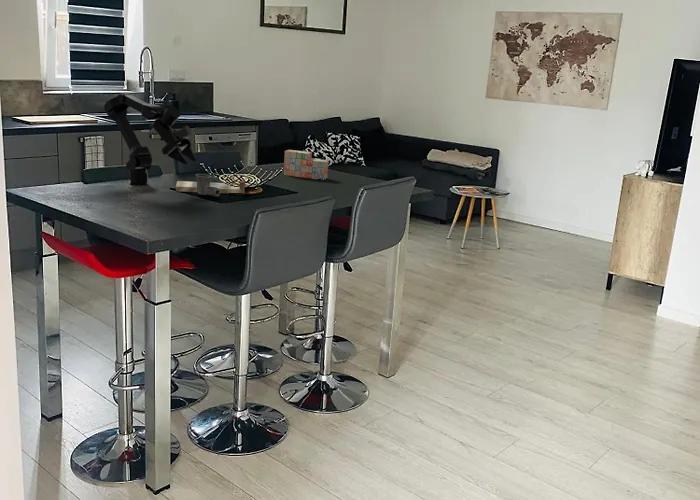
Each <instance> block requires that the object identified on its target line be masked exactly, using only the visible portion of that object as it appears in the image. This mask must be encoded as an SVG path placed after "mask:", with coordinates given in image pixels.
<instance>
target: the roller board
mask: <svg viewBox="0 0 700 500" xmlns="http://www.w3.org/2000/svg"><path fill="white" fill-rule="evenodd" d="M245 183H246V181H245V180H244V181H240V187H234V186H230V185H227V184H225V182H210V187H216V188H218V189H219V190H220V194H229V193H244V194H245V189H246V188H245V185H246V184H245ZM175 192H187V193H188V192H189V193H197V181H186V180H185V181H184V180H183V181H182V180H177V181H176V185H175Z"/></svg>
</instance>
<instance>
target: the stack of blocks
mask: <svg viewBox="0 0 700 500" xmlns="http://www.w3.org/2000/svg"><path fill="white" fill-rule="evenodd" d="M312 155H313V152H311V151H305V150H304V151H303V150H293V149H287V150H284V157H283V158H284V159H283V160H284V161H283V176H289V177H296V178H297V177H298V178H303V179H310V178H311V179H310V180H318V179H321V180H320V181H324V179H325V180H327V179H328V172H329V161H330V160H327V159H326V160H325V159H317V158H313V156H312ZM326 178H327V179H326Z"/></svg>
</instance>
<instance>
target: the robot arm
mask: <svg viewBox="0 0 700 500" xmlns="http://www.w3.org/2000/svg"><path fill="white" fill-rule="evenodd" d="M129 108H131V109H133V110H135V111H137V112H139V113H140V114H141V116H142V117H143V118H144V119H145V120H147V121H153V122H151V123H149V124H148V126H149V128H148V130H149V131H150V132H152V131H153V130H154V131H155V133H157V135H158V136H159V137H160V138H159V139H160V141H161V142H164V143H165V145H164V146H163V147H162V148H161V153H162V155H164V156H167V157H169V158H171V159H173V160H174V161H177V162H178V163H179V162H180V163H182V164H183V165H184V166H185V165H187V164H188V161H187V160H186V158H185V157H187V158H188V159H190V160H191V161H193V162H194V163H195V162H197V159H196V156H195V154H194V152H193V148H192V146H193V140H192V138H191V137H187V136H191V135H193V133H192V129H191V128H190V127H189V126H188V125H185V126H182V128H181V129H178V130H177V129H173V128H172V127H171V126H173V125H174V124H175V123H176V121H177V120H178V119H179V118H180V117H181V112H180V111H179V109H178V108H176V107H175V106H173V105H172V104H170V103H167V104H166V105H165V107H164V108H163V106H162V105H157V104H151V103H147V102H145V101H144V100H141V99H140V98H138V97H136V96H135V95H134V96H133V94H131V93H119V94H118V95H117V96H115V97H113V98H111V99H109V100H108V101H107V100H106V102H105V104H104V106H103V109H104V112H105V113H106V115H107V116H108V118H109V119H111V120H112V121H114V122H115V123H116V125H117V127H118V129H119V131H120V134H121V136H122V137H123V139H124V142H125V143H126V145H127V147H128V149H129V155H128V157H129V159H128V161H127V163H126V164H125V168H126V170H128V171H130V172H129V173H130V177H129V178H130V183H129V185H131V186H132V185H133V186H146V185H147V184H148V182H149V173H148V172H147V170H151V166H152V162H153V156H152V153H151V151H150V149H149V147H148V146H147V145H146V146H142V145H141V143H140V141H139V139H138V136H137V135H136V133H135V131H134V129H133V127H132V125H131V123H130V121H129V119H128V117H127V116H128V109H129ZM149 131H148V132H149Z"/></svg>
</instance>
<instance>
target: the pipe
mask: <svg viewBox="0 0 700 500" xmlns="http://www.w3.org/2000/svg"><path fill="white" fill-rule="evenodd" d="M194 176H195V179H196V181H195V182H197V192H196V193H197V194H198V195H201V196H210V197H214V198H216V197H217V198H218V197H219V196H221V193H220V190H219V189H218V188H216V187H210V183H212V182H211V181H212V175H210V174H203V173H196V174H195V175H194Z"/></svg>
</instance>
